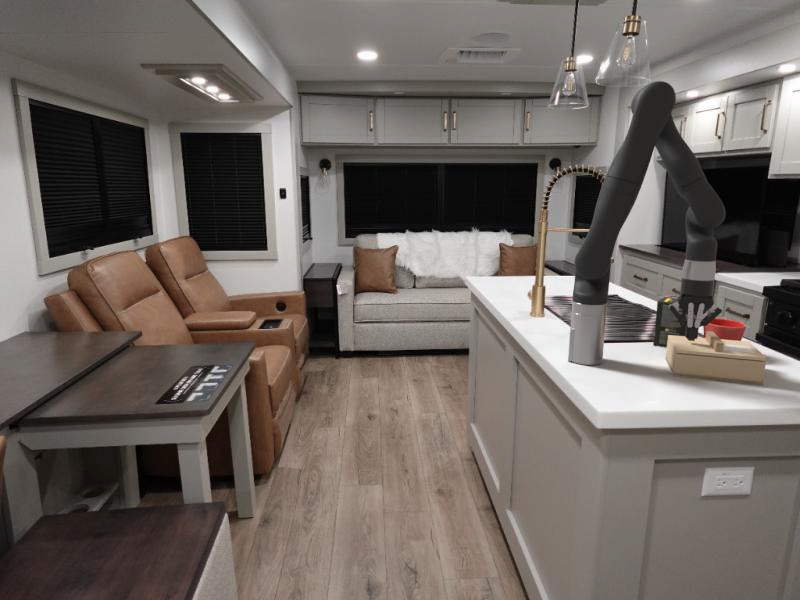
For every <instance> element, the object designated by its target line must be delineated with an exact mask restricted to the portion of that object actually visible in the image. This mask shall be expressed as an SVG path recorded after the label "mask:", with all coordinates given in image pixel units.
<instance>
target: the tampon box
mask: <svg viewBox="0 0 800 600" xmlns="http://www.w3.org/2000/svg"><path fill="white" fill-rule="evenodd" d="M678 297H679V296H676V295H675V296H674V295H673V296H672V295H665V296H664V297H662V298H660V299H658V301H657V303H656V313H655V314H656V315H655V325H654V326H655V327H654V335H653V337H654V338H653V344H652V345H653V346H656V347H661V348H667V341H668V335H674V336H685V330H686V326H685V325H682V324H681V323H680V322H679V321H678V319H677V318H676V317H675V315H674V314H673V313H672V311H671V310H670V309H669V307H668V305H669V304H673V303H675V302H677V299H678ZM678 313H679V314H680V315H681V317H682V318H683V319H684V320H686V313H685V312H684V311H683V309H682V308H681V306H680V305H679V310H678ZM693 320H694V314H693ZM692 326H693V325H692Z"/></svg>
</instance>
